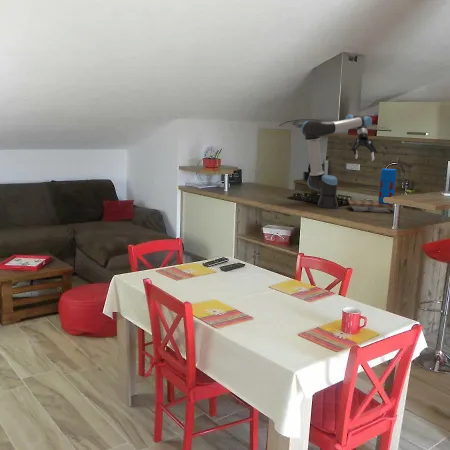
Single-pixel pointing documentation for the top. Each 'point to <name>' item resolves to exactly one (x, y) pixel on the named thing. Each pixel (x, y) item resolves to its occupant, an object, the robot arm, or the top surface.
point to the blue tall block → (387, 184)
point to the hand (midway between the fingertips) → (364, 159)
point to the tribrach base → (370, 209)
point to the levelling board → (368, 203)
